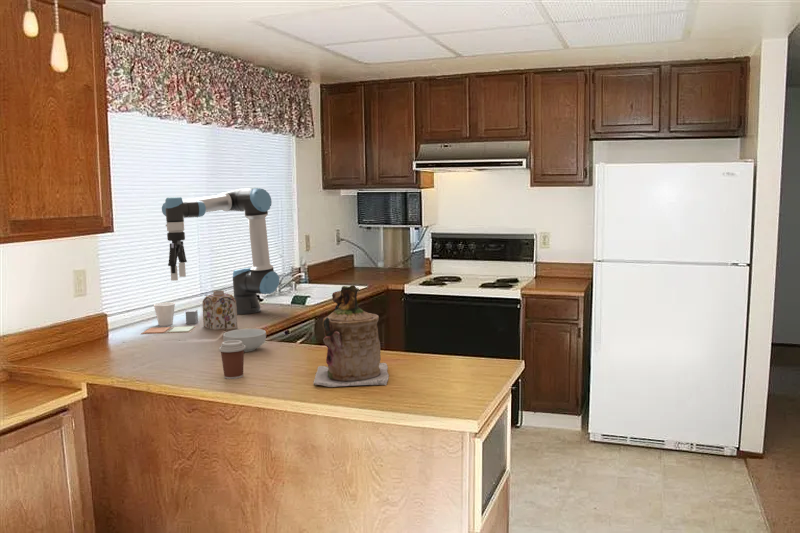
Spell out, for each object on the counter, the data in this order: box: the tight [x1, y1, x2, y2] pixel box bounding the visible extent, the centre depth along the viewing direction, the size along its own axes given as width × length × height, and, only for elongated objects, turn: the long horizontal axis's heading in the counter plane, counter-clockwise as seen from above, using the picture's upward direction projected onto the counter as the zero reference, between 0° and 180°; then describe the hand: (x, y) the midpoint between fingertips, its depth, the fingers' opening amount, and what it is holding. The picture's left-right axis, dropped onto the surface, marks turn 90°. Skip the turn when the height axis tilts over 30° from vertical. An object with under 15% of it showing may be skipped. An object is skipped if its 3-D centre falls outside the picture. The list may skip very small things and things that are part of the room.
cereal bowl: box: [222, 327, 267, 353], centre depth 281 cm, size 17×17×7 cm
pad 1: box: [143, 326, 171, 334], centre depth 319 cm, size 9×11×1 cm
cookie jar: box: [313, 284, 390, 388], centre depth 234 cm, size 25×25×32 cm
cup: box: [153, 301, 176, 327], centre depth 333 cm, size 10×10×11 cm
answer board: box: [140, 325, 198, 335], centre depth 319 cm, size 22×14×2 cm, turn 93°
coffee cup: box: [218, 340, 246, 380], centre depth 240 cm, size 9×9×12 cm
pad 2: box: [167, 325, 195, 334], centre depth 320 cm, size 9×11×1 cm
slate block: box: [185, 309, 199, 325], centre depth 336 cm, size 4×4×7 cm
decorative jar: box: [202, 289, 238, 332], centre depth 324 cm, size 12×12×18 cm
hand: (178, 278), depth 317 cm, fingers open, 13 cm apart
